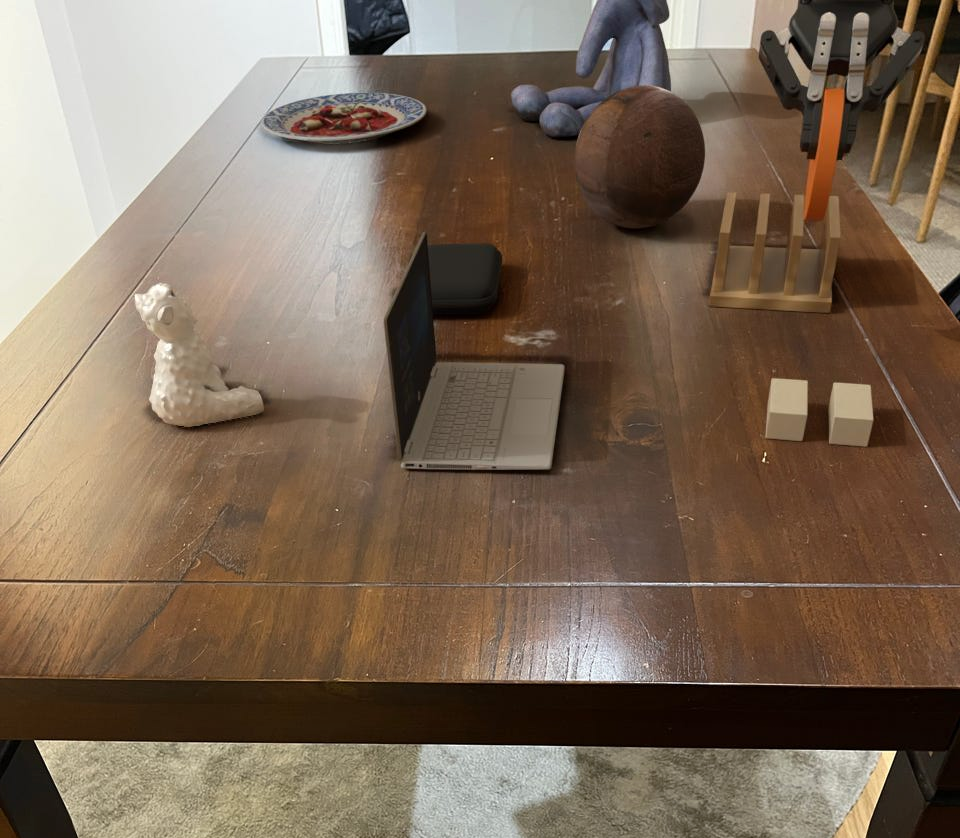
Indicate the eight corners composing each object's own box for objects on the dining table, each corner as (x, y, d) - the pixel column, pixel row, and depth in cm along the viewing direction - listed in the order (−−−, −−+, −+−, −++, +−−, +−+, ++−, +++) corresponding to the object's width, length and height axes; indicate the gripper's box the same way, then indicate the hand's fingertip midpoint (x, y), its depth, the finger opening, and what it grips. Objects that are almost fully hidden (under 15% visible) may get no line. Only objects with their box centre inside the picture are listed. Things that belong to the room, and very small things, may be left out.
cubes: (864, 411, 86) (870, 384, 85) (867, 447, 82) (873, 419, 80) (767, 404, 88) (771, 377, 86) (765, 438, 84) (769, 411, 82)
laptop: (550, 475, 81) (551, 320, 72) (398, 471, 83) (380, 318, 74) (564, 371, 94) (566, 230, 86) (433, 369, 96) (421, 230, 87)
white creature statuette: (271, 412, 91) (245, 282, 83) (188, 449, 87) (152, 315, 79) (215, 379, 96) (185, 254, 88) (134, 413, 92) (95, 284, 84)
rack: (828, 260, 111) (841, 192, 106) (829, 313, 101) (843, 241, 96) (718, 255, 114) (725, 189, 109) (708, 306, 104) (716, 235, 99)
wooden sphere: (721, 217, 123) (736, 80, 113) (655, 257, 114) (665, 112, 104) (618, 196, 130) (623, 65, 120) (548, 231, 122) (548, 94, 112)
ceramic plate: (391, 158, 147) (389, 135, 145) (234, 149, 153) (230, 128, 151) (449, 110, 165) (448, 89, 163) (307, 104, 171) (304, 85, 169)
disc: (820, 203, 91) (841, 78, 85) (823, 235, 84) (846, 101, 77) (803, 203, 92) (823, 78, 85) (804, 235, 84) (826, 100, 78)
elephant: (501, 110, 163) (497, -42, 150) (645, 92, 167) (654, -57, 154) (540, 145, 148) (539, -21, 134) (697, 124, 152) (712, -38, 139)
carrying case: (411, 266, 115) (393, 321, 104) (408, 239, 113) (390, 292, 102) (503, 264, 114) (496, 319, 103) (503, 237, 112) (495, 291, 101)
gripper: (770, -84, 81) (742, 127, 80) (952, -87, 78) (925, 131, 77) (762, -18, 88) (737, 175, 87) (928, -18, 85) (904, 181, 84)
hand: (825, 154), depth 82 cm, fingers closed on disc, 1 cm apart
